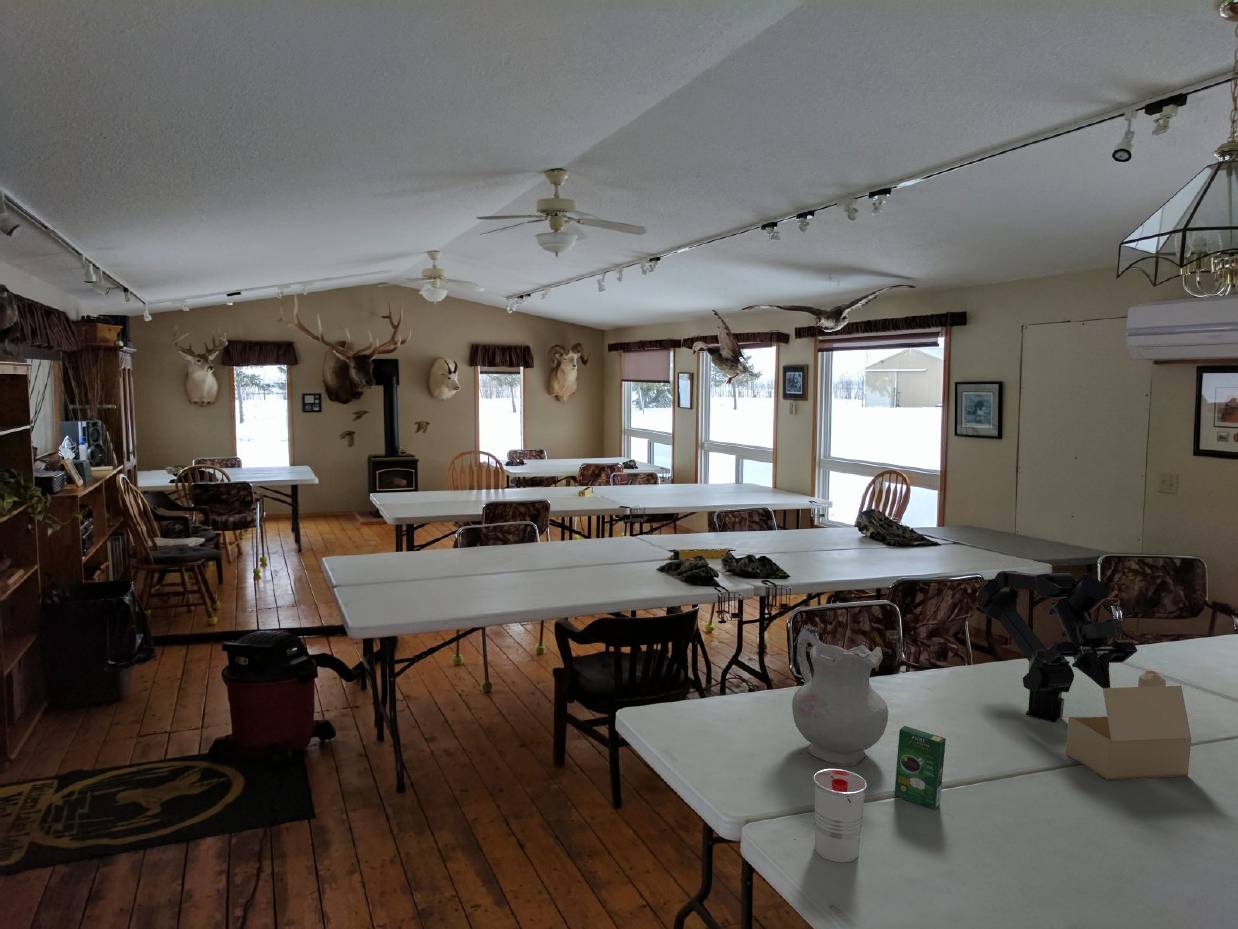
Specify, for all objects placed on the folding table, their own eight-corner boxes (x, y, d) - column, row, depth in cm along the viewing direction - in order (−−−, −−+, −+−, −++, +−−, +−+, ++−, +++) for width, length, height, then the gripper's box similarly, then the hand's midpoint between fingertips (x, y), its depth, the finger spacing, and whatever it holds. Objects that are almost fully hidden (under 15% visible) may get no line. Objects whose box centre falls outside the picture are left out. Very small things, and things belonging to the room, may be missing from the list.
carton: (1065, 754, 178) (1068, 717, 178) (1142, 750, 181) (1145, 714, 180) (1106, 780, 167) (1109, 741, 166) (1187, 776, 169) (1191, 737, 168)
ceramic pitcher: (763, 752, 179) (763, 639, 175) (811, 719, 193) (812, 614, 189) (858, 787, 164) (861, 665, 160) (903, 749, 178) (906, 636, 174)
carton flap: (1102, 688, 168) (1104, 688, 168) (1179, 685, 171) (1181, 685, 170) (1111, 741, 166) (1112, 741, 165) (1189, 737, 168) (1191, 737, 168)
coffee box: (942, 806, 155) (947, 736, 154) (936, 811, 153) (941, 741, 151) (899, 791, 160) (903, 724, 159) (893, 796, 158) (897, 728, 157)
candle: (1167, 718, 199) (1170, 677, 198) (1141, 716, 200) (1144, 675, 199) (1157, 710, 205) (1160, 669, 204) (1132, 707, 206) (1135, 667, 205)
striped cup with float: (802, 835, 144) (805, 767, 142) (850, 834, 144) (854, 766, 143) (820, 869, 134) (824, 796, 133) (873, 867, 134) (877, 795, 133)
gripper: (1056, 605, 181) (1088, 673, 171) (1134, 604, 184) (1170, 670, 174) (1030, 630, 190) (1059, 696, 180) (1106, 629, 193) (1138, 694, 183)
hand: (1107, 689), depth 179 cm, fingers closed
